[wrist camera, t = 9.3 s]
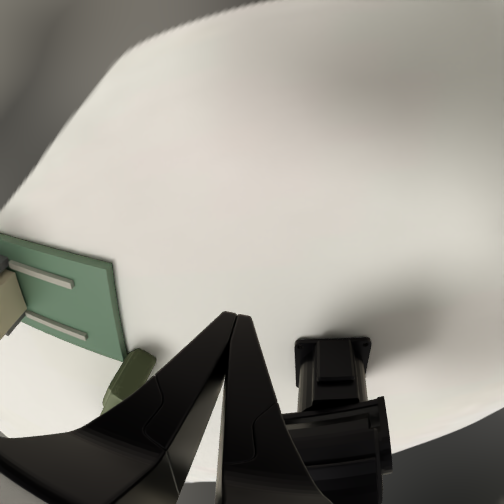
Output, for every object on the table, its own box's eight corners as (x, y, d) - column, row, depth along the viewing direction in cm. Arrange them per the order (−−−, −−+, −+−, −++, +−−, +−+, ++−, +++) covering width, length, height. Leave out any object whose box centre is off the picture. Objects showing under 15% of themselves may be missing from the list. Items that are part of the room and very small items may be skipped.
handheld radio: (162, 359, 30) (117, 426, 43) (134, 342, 30) (100, 416, 42) (136, 409, 25) (102, 457, 37) (105, 390, 24) (83, 446, 37)
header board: (111, 263, 25) (70, 312, 19) (127, 355, 31) (102, 402, 25) (-22, 226, 26) (-59, 255, 20) (4, 306, 32) (-24, 337, 26)
